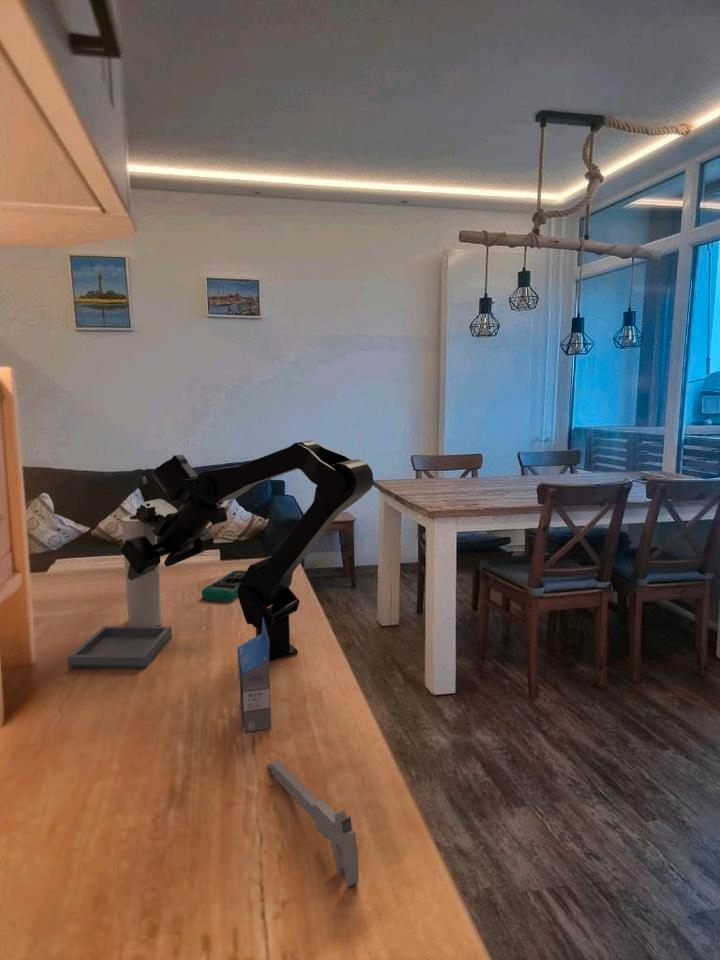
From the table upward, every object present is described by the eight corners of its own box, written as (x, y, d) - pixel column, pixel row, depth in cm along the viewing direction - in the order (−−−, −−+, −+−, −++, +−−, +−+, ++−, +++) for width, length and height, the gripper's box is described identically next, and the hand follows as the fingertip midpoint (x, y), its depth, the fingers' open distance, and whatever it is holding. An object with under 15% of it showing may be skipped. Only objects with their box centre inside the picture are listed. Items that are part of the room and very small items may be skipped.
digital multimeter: (261, 582, 139) (261, 570, 138) (231, 604, 125) (230, 591, 124) (234, 580, 141) (233, 568, 140) (200, 601, 127) (200, 588, 126)
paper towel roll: (160, 629, 110) (153, 518, 107) (126, 632, 109) (118, 520, 106) (164, 615, 117) (158, 511, 114) (132, 618, 116) (125, 512, 113)
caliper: (359, 888, 53) (358, 825, 52) (348, 893, 52) (348, 830, 51) (274, 764, 70) (273, 716, 69) (266, 767, 70) (264, 718, 69)
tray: (172, 636, 107) (171, 626, 107) (145, 668, 94) (144, 657, 94) (104, 636, 107) (103, 626, 107) (68, 668, 95) (67, 657, 94)
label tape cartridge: (238, 700, 85) (235, 619, 83) (265, 696, 86) (263, 616, 84) (243, 734, 76) (239, 644, 74) (273, 729, 77) (270, 641, 75)
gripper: (199, 479, 115) (160, 528, 121) (124, 494, 98) (83, 550, 104) (233, 522, 112) (191, 570, 119) (162, 545, 96) (118, 599, 102)
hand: (148, 571), depth 111 cm, fingers open, 9 cm apart
